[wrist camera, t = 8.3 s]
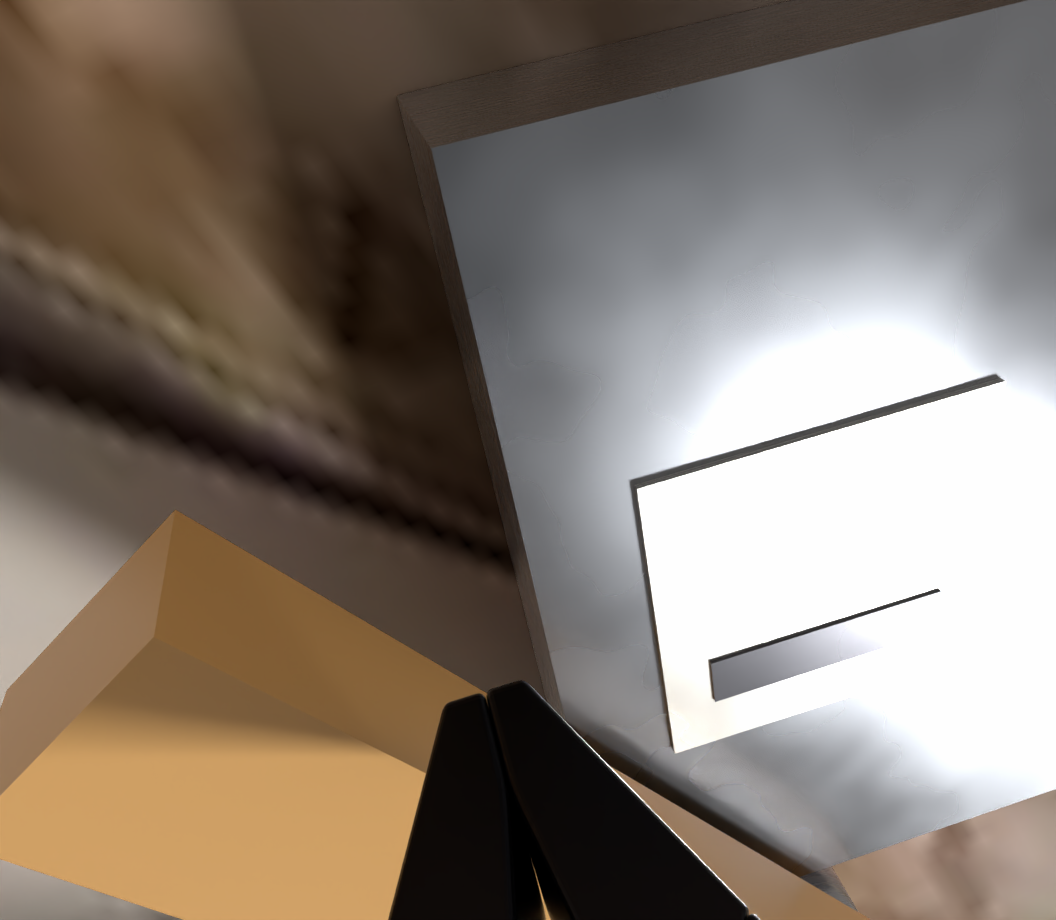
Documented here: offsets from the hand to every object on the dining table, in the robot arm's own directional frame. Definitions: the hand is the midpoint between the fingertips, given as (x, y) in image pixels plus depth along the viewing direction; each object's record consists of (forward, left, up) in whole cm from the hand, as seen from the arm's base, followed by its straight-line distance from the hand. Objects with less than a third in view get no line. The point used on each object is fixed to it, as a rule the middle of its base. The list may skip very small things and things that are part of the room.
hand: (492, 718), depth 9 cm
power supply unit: (-4, -9, -6) cm, 11 cm away
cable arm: (-6, -1, -2) cm, 6 cm away
